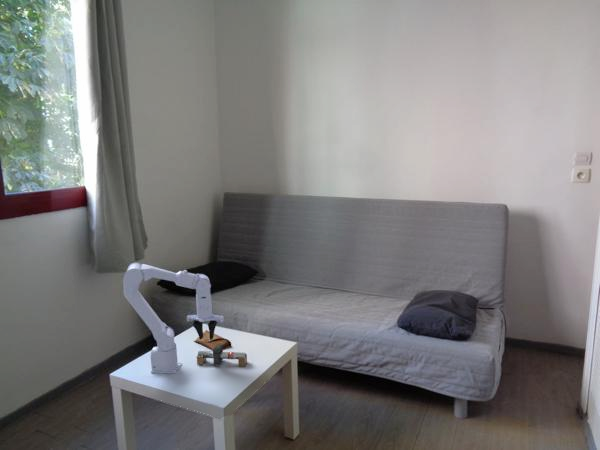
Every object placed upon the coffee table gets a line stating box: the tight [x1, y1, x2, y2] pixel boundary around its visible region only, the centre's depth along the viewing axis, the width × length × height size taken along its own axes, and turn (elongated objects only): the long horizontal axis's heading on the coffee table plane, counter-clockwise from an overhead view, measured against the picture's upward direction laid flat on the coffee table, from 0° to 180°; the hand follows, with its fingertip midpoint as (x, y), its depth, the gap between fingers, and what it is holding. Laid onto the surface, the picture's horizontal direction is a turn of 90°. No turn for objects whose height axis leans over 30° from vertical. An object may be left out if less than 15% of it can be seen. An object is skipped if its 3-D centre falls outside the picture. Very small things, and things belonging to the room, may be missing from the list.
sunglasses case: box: [193, 329, 232, 352], centre depth 199 cm, size 18×7×7 cm, turn 47°
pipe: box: [196, 350, 248, 368], centre depth 180 cm, size 19×4×5 cm, turn 82°
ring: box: [212, 344, 224, 366], centre depth 180 cm, size 2×6×6 cm, turn 172°
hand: (206, 338), depth 180 cm, fingers open, 4 cm apart
